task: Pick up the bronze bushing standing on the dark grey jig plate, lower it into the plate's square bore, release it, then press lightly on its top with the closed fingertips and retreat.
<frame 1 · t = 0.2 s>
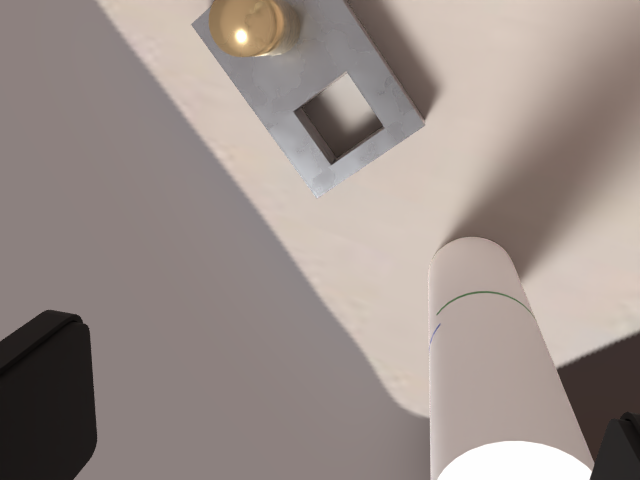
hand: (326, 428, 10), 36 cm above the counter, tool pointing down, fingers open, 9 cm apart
jig plate: (314, 72, 43), on the counter
bushing: (274, 27, 39), point 3 cm above the counter, touching jig plate
cylindrical container: (470, 275, 46), on the counter
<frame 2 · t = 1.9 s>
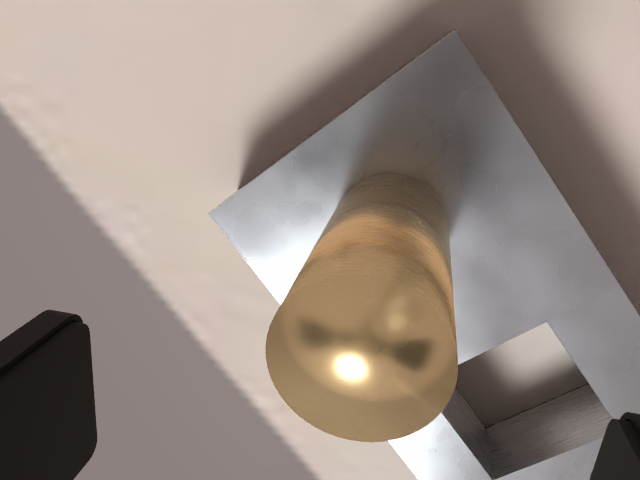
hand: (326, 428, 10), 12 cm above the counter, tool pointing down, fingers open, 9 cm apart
jig plate: (453, 284, 21), on the counter
bushing: (389, 229, 18), point 3 cm above the counter, touching jig plate
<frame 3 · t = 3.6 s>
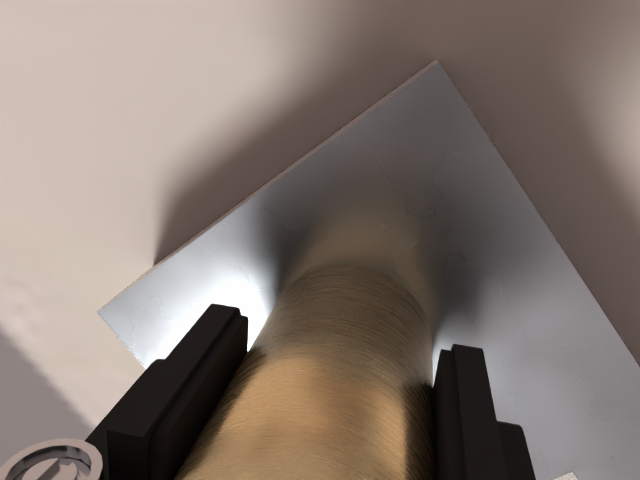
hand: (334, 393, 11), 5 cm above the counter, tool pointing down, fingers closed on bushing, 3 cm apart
jig plate: (441, 393, 16), on the counter
bushing: (348, 340, 13), point 3 cm above the counter, touching gripper, jig plate
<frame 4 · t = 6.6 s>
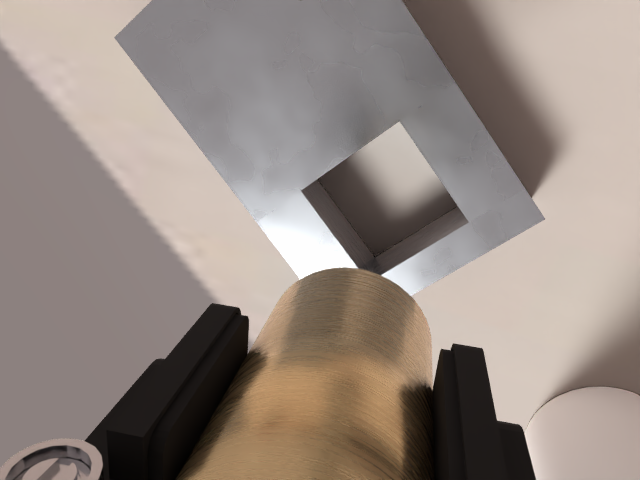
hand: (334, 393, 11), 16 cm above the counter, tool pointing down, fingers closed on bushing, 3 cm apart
jig plate: (337, 117, 25), on the counter
bushing: (348, 343, 13), point 14 cm above the counter, touching gripper
cylindrical container: (595, 443, 28), on the counter
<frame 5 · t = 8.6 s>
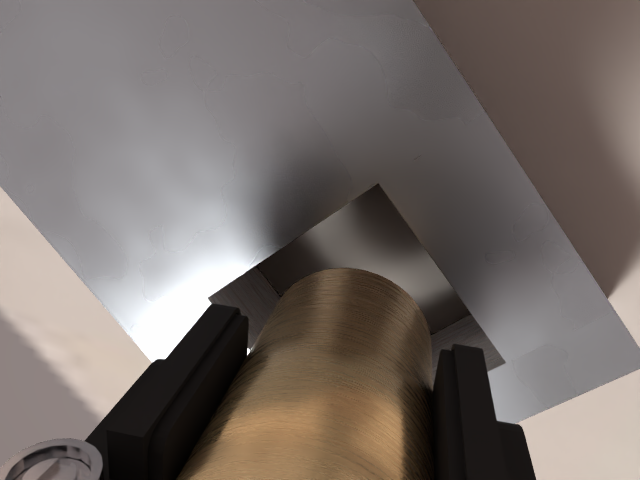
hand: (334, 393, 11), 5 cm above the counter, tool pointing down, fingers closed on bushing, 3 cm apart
jig plate: (279, 162, 15), on the counter
bushing: (348, 343, 13), point 3 cm above the counter, touching gripper
when the fingers open (4 cm above the counter, at t = 9.9 s): bushing drops 2 cm, resting in jig plate.
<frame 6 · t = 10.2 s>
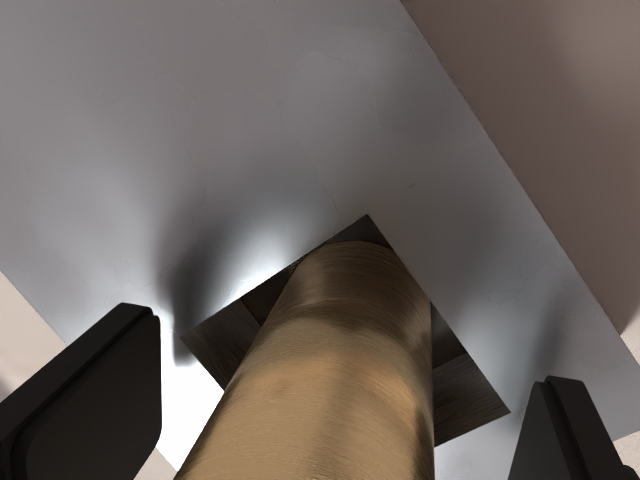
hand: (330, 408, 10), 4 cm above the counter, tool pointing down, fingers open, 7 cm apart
jig plate: (261, 184, 13), on the counter
bushing: (356, 309, 14), resting in jig plate
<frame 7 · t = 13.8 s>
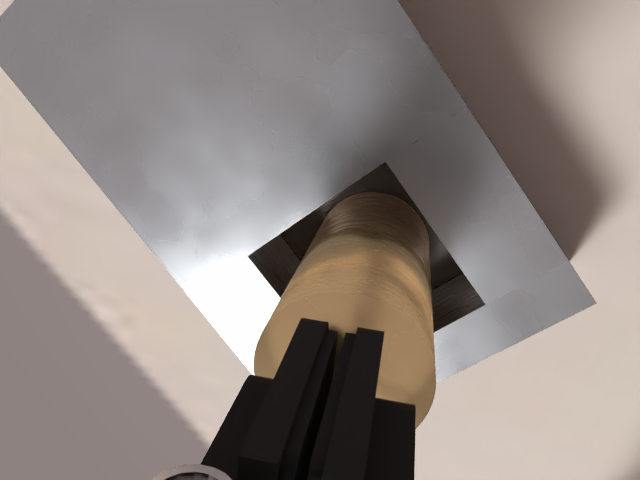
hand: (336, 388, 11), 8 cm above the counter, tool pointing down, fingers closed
jig plate: (303, 149, 18), on the counter
bushing: (372, 245, 19), resting in jig plate
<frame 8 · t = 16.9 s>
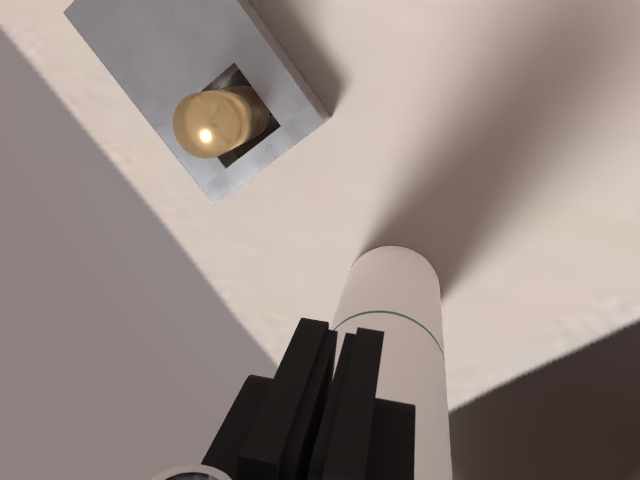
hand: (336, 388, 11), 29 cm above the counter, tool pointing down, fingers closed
jig plate: (209, 65, 38), on the counter
bushing: (244, 112, 39), resting in jig plate
cylindrical container: (392, 288, 42), on the counter
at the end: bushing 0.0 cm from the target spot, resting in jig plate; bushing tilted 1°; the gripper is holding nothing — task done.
